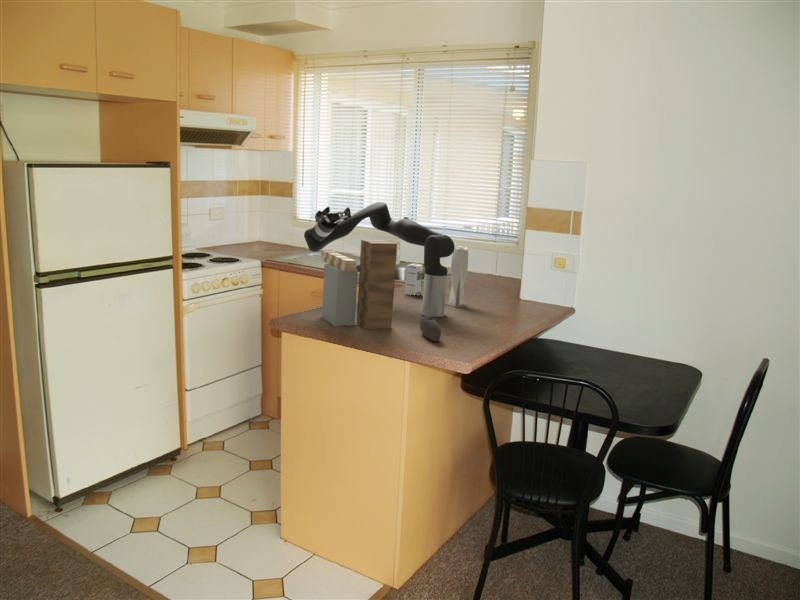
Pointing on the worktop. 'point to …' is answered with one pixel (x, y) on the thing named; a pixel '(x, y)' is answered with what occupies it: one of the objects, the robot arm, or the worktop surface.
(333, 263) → the birch beam
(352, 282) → the grey block
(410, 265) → the syrup box
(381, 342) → the worktop surface
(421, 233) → the robot arm
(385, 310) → the tall wooden tower
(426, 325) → the perforated stone tool
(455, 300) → the skyscraper
